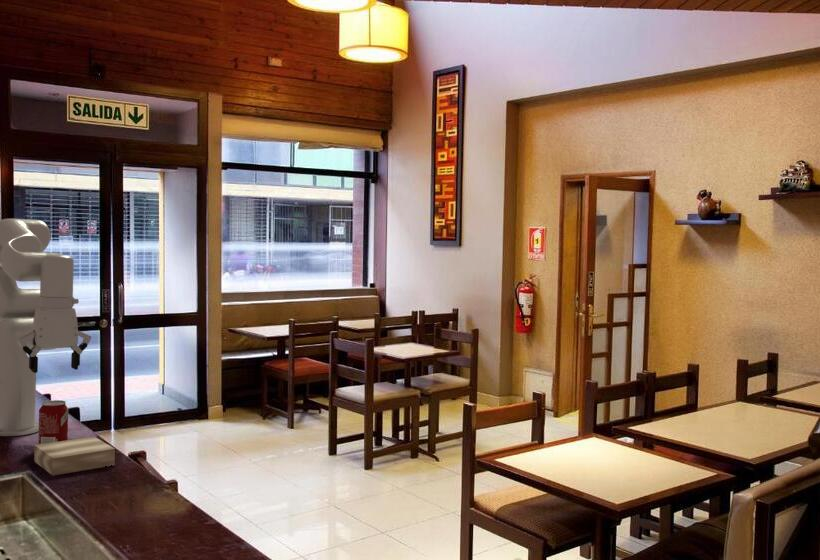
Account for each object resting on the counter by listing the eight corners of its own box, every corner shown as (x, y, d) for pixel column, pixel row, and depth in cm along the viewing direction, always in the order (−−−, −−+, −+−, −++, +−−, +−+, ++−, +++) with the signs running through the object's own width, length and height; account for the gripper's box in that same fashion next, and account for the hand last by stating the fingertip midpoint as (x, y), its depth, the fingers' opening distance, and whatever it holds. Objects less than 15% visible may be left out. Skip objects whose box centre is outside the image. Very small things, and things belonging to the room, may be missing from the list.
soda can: (55, 453, 185) (56, 406, 185) (32, 451, 186) (33, 404, 186) (73, 446, 192) (74, 400, 191) (50, 444, 193) (51, 399, 193)
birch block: (34, 461, 178) (34, 445, 177) (93, 452, 187) (94, 436, 187) (52, 475, 167) (52, 458, 167) (114, 465, 177) (115, 448, 177)
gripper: (86, 301, 195) (84, 365, 196) (14, 302, 183) (13, 370, 184) (96, 304, 190) (94, 370, 190) (23, 305, 178) (21, 375, 179)
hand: (54, 370), depth 187 cm, fingers open, 9 cm apart
